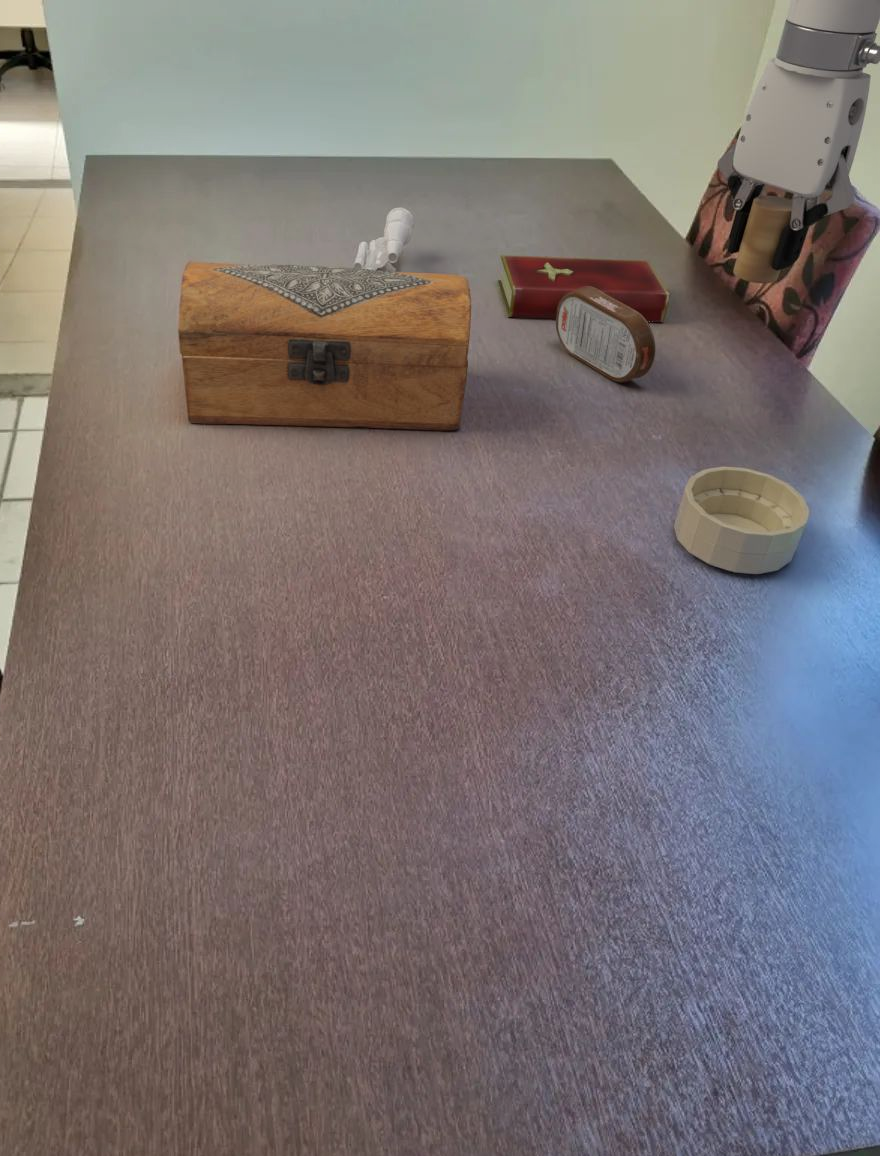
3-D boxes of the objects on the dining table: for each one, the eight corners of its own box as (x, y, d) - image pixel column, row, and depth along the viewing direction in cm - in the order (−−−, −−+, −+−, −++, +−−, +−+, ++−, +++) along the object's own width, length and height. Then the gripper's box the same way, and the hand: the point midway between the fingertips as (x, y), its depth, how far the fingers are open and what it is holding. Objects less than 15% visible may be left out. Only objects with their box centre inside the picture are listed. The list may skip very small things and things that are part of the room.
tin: (648, 389, 116) (665, 322, 111) (629, 395, 115) (645, 327, 109) (565, 340, 125) (576, 275, 119) (546, 345, 124) (557, 279, 118)
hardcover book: (663, 324, 130) (670, 293, 128) (508, 319, 129) (513, 287, 126) (642, 288, 139) (649, 258, 136) (497, 282, 138) (501, 252, 135)
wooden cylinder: (785, 277, 98) (809, 205, 94) (761, 287, 96) (783, 214, 91) (749, 263, 101) (770, 192, 96) (724, 272, 98) (744, 200, 94)
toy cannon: (375, 300, 135) (348, 271, 132) (383, 263, 145) (359, 235, 143) (418, 263, 131) (391, 232, 129) (423, 227, 142) (398, 198, 139)
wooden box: (182, 428, 104) (169, 301, 94) (204, 358, 116) (194, 239, 106) (462, 440, 105) (476, 317, 96) (454, 370, 117) (466, 254, 108)
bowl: (813, 549, 94) (832, 505, 90) (748, 594, 88) (766, 550, 84) (716, 496, 99) (730, 454, 96) (649, 535, 94) (662, 492, 90)
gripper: (934, 65, 82) (855, 278, 95) (765, 27, 92) (712, 226, 104) (890, 75, 79) (813, 296, 91) (718, 34, 88) (669, 239, 100)
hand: (760, 256), depth 97 cm, fingers closed on wooden cylinder, 4 cm apart
